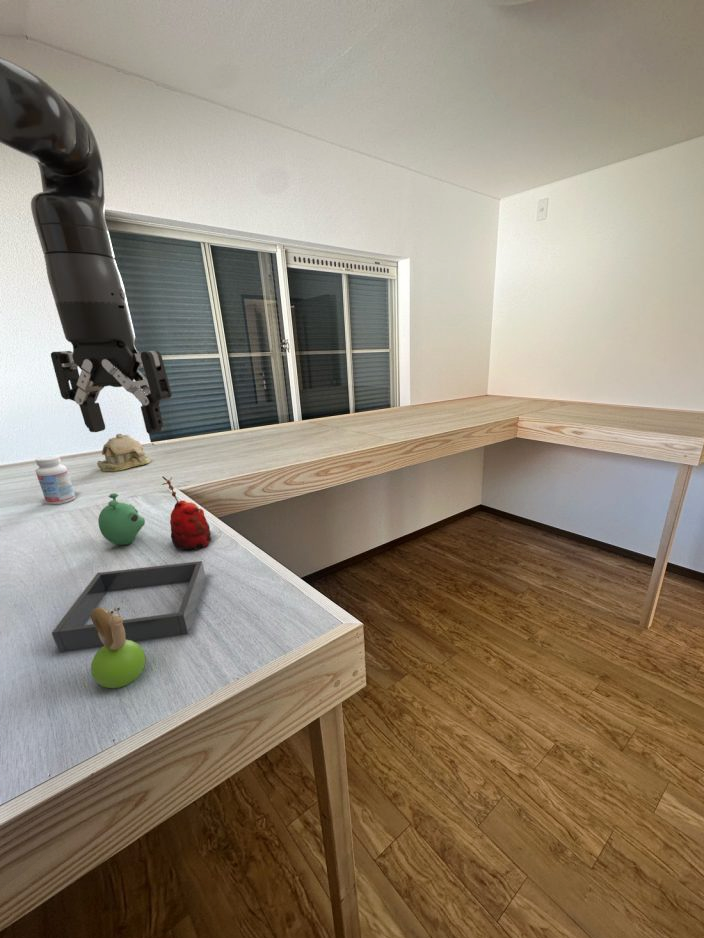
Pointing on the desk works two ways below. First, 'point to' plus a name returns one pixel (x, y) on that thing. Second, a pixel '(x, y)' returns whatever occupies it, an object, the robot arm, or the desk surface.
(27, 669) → the desk surface
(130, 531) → the alien toy
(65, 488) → the pill bottle
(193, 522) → the red bumpy rounded piece
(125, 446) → the ceramic model
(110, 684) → the snail figurine
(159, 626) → the grey open frame
